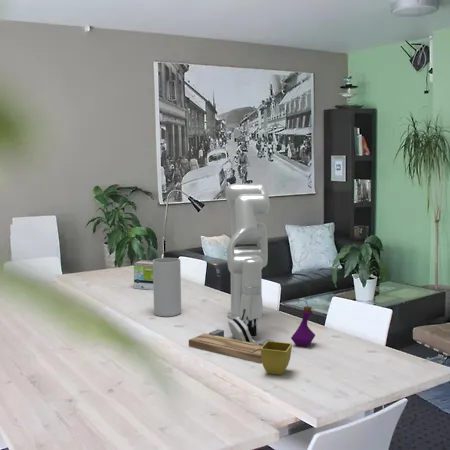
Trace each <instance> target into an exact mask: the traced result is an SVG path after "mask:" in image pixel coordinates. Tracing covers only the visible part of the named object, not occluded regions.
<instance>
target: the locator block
mask: <svg viewBox="0 0 450 450" xmlns="http://www.w3.org/2000/svg"><path fill="white" fill-rule="evenodd" d="M208 334H210V335H215V336H221V337H225V330H224V329H215V330H213V331H210V332H209V333H208Z"/></svg>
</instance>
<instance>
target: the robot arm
mask: <svg viewBox="0 0 450 450" xmlns="http://www.w3.org/2000/svg"><path fill="white" fill-rule="evenodd" d="M225 200H226V203H227V206H228V207H229V211H230V224H231V225H230V231H231V238H230V240H229V241H228V243H227V244H228V245H227V248H226V255H227V257H226V258H227V268H228V272H229V273H230V311H228V312H227V318H229V319H231V320H233V319H234V318H239V319H240V320H241V321H242V322H243V323H244V324H245V325H246V327H247V328H248V330H249V333H250V335H251V338H252V337H254V338H255V337H256V336H257V334H258V333H257V328H258V327H257V326H258V324H259V323H258V321H259V320H260V319H261V317H262V316H263V309H264V307H263V297H262V293H263V292H262V287H263V286H262V285H263V284H262V281H263V280H262V270H263V268H265V267H266V266H267V265H268V257H269V256H268V252H269V251H268V250H269V249H268V247H269V246H268V243H269V242H268V229H267V226H266V224H265V223H264V222H260V221H259V222H258V221H257V215H267V214H268V213H269V212H270V210H271V209H270V207H271V204H270V203H271V202H270V198H269V193H268V191H267V189H266V185H264V184H262V183H232V184H229V185H228V186H226V187H225ZM238 244H239V245H241V244H242V245H243V244H250V245H251V244H253V245H254V244H255V245H257V246H236V245H238Z"/></svg>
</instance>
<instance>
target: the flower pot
mask: <svg viewBox="0 0 450 450" xmlns="http://www.w3.org/2000/svg"><path fill="white" fill-rule="evenodd" d="M273 341H274V340H273ZM273 341H267V342H266V343H265V344H264V345H263V346H262V347H261V357H262V362H261V363H262V366H263V369H264V371H265V372H266V374H271V375H277V376H279V375H280V376H282V375H283V374H284V373H285V371H286V369H287V367H288V366H289V364H290V360H291V356H292V355H291V354H292V347H293V343H290V342H283V341H282V342H281V341H274V342H273Z"/></svg>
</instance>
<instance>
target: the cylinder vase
mask: <svg viewBox="0 0 450 450" xmlns="http://www.w3.org/2000/svg"><path fill="white" fill-rule="evenodd" d="M152 261H153V287H154V290H153V313H154V315H156V316H158V317H162V316H163V317H165V318H166V317H167V318H168V317H169V318H170V317H176V316H179V315H180V314H181V313H182V283H181V282H182V281H181V280H182V276H181V274H182V273H181V271H182V270H181V259H180V258H177V257H160V258H155V259H152Z"/></svg>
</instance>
